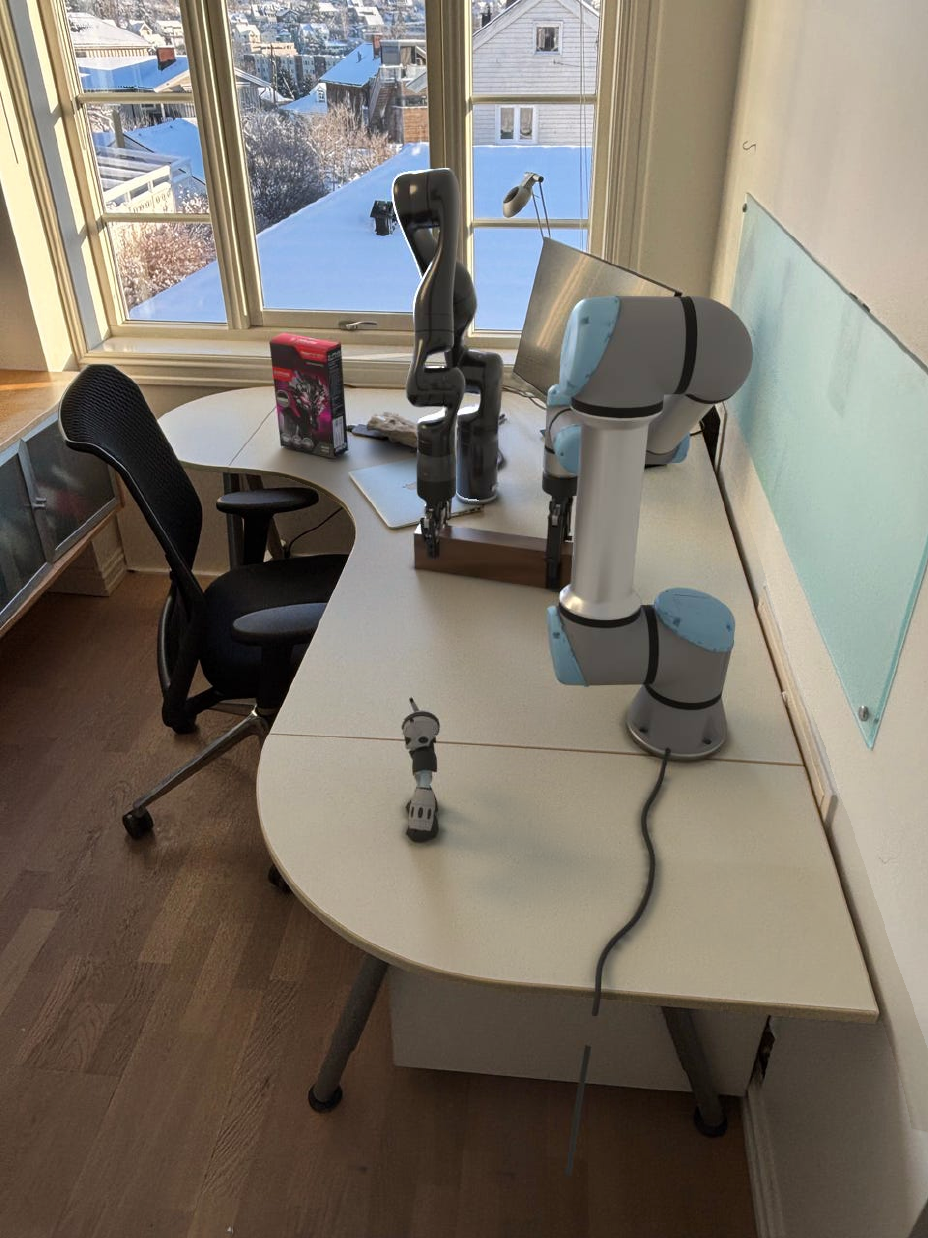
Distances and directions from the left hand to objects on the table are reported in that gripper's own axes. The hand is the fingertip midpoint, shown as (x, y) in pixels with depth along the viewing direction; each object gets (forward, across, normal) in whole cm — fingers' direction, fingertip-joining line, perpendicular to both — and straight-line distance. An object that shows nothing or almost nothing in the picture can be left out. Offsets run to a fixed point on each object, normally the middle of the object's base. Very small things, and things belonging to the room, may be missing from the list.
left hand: (437, 550), depth 183 cm
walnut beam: (+3, 0, -12) cm, 12 cm away
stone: (+3, +57, +26) cm, 63 cm away
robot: (+3, -67, -18) cm, 69 cm away
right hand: (+3, 0, -24) cm, 24 cm away
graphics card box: (+3, +46, +46) cm, 65 cm away
